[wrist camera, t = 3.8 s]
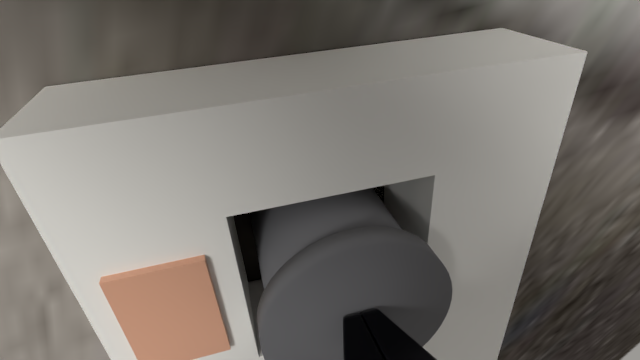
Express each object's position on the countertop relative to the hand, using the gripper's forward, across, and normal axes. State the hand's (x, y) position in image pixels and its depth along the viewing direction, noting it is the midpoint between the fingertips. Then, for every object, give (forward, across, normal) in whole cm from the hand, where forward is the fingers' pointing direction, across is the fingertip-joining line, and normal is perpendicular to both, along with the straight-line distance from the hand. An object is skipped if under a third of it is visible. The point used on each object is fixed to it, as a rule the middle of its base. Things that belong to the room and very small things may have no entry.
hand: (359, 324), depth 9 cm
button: (+5, 0, 0) cm, 5 cm away
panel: (+5, 0, +6) cm, 8 cm away
